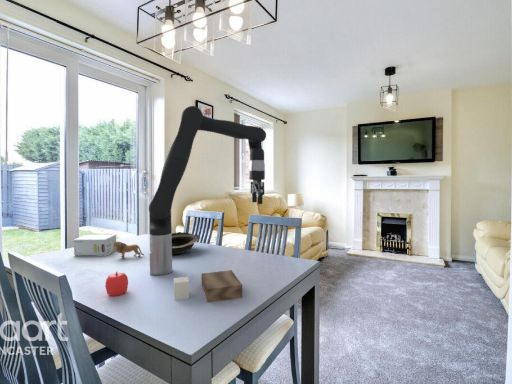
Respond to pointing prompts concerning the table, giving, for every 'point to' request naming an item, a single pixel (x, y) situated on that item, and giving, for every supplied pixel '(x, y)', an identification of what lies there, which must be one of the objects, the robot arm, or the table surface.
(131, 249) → the lion figurine
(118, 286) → the apple
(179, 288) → the cream block
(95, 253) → the supplement box
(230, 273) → the walnut plinth
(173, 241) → the dark brown round bowl
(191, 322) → the table surface
